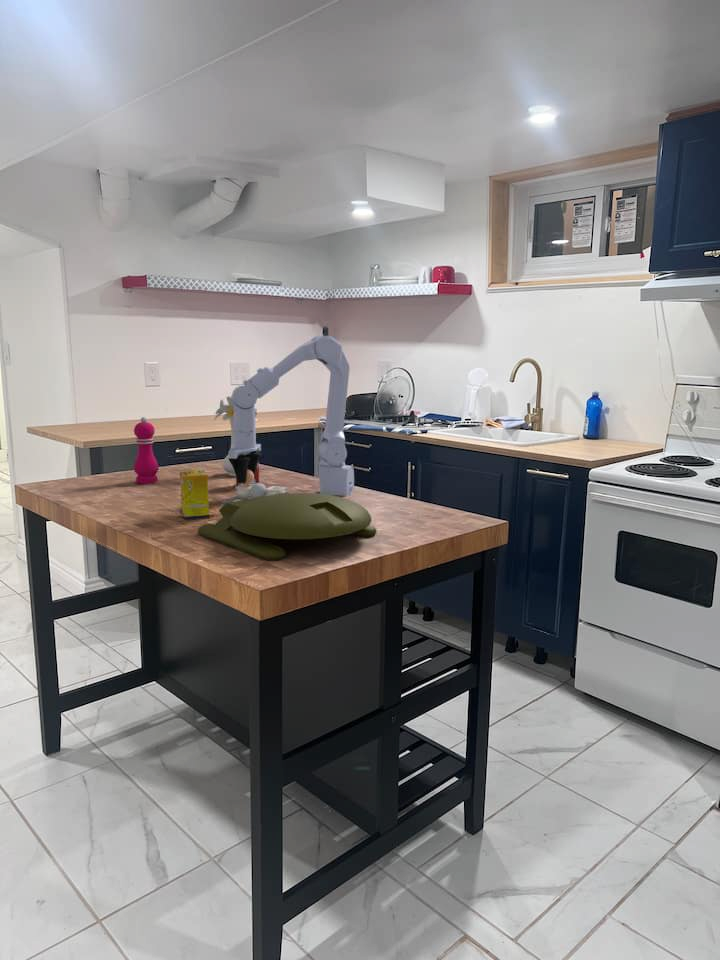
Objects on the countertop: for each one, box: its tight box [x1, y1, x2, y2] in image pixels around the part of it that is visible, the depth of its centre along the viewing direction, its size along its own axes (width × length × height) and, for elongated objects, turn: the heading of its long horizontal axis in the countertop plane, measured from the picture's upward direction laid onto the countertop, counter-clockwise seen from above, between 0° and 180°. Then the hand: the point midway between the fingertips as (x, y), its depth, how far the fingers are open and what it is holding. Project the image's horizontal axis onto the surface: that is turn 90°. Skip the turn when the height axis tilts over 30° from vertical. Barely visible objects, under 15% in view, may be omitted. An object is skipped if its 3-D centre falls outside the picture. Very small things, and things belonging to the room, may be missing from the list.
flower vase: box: [213, 395, 259, 477], centre depth 225 cm, size 13×18×25 cm
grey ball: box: [250, 482, 267, 498], centre depth 187 cm, size 4×4×4 cm
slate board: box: [219, 494, 267, 504], centre depth 188 cm, size 16×14×2 cm
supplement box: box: [179, 470, 210, 520], centre depth 172 cm, size 6×6×11 cm
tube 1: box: [235, 484, 253, 499], centre depth 190 cm, size 5×5×3 cm
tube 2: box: [266, 485, 288, 496], centre depth 187 cm, size 5×5×3 cm
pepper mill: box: [133, 416, 160, 485], centre depth 213 cm, size 7×7×20 cm
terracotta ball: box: [241, 469, 254, 485], centre depth 189 cm, size 4×4×4 cm
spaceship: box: [197, 491, 377, 561], centre depth 155 cm, size 35×31×10 cm
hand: (246, 481), depth 190 cm, fingers closed on terracotta ball, 4 cm apart
